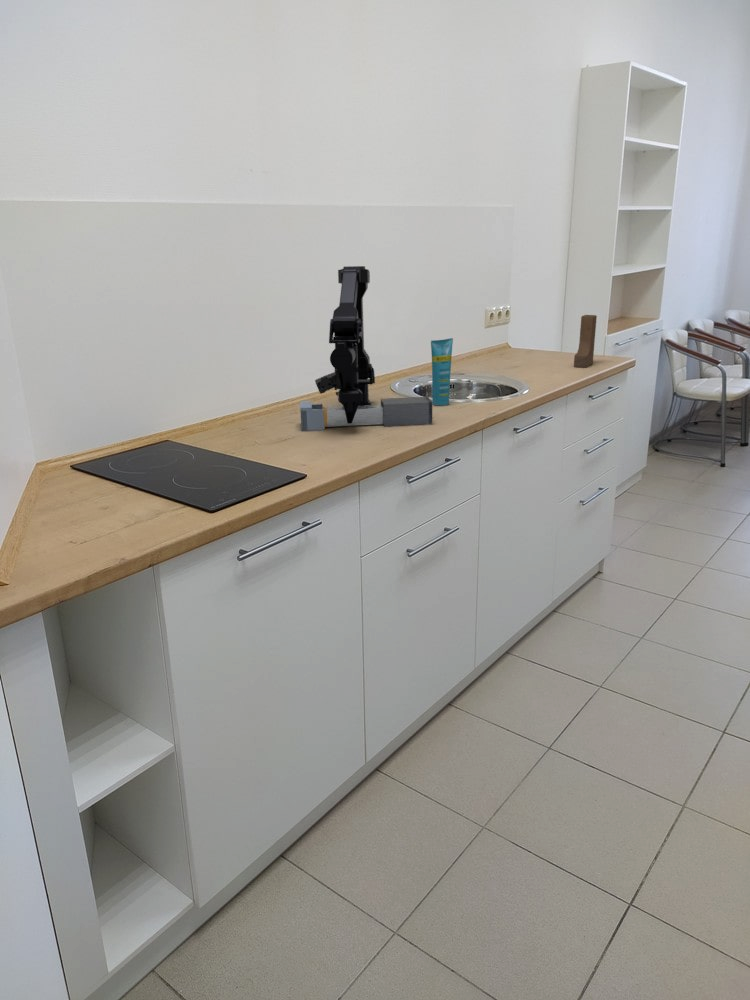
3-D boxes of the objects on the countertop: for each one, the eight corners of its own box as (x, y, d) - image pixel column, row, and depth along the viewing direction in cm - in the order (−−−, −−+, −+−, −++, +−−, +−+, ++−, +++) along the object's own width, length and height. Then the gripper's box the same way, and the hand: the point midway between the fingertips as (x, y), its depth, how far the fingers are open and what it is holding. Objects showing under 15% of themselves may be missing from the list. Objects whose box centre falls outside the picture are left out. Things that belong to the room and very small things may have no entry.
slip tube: (322, 423, 200) (321, 407, 198) (402, 419, 202) (402, 403, 200) (323, 427, 196) (322, 410, 194) (405, 423, 198) (405, 406, 196)
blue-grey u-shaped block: (301, 423, 201) (299, 401, 199) (323, 422, 201) (322, 400, 199) (301, 431, 193) (300, 407, 191) (324, 429, 194) (323, 406, 192)
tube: (436, 407, 215) (436, 341, 209) (426, 404, 219) (426, 339, 212) (455, 403, 219) (456, 338, 212) (445, 401, 223) (446, 336, 216)
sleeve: (381, 420, 203) (380, 398, 200) (427, 417, 204) (427, 396, 202) (384, 426, 196) (383, 404, 194) (432, 424, 197) (432, 402, 195)
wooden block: (585, 368, 268) (589, 317, 262) (573, 367, 271) (576, 317, 264) (593, 364, 275) (597, 315, 269) (581, 363, 278) (585, 314, 271)
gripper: (314, 358, 200) (317, 414, 206) (317, 371, 183) (320, 431, 189) (355, 357, 202) (356, 412, 207) (362, 369, 184) (364, 429, 190)
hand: (348, 421), depth 198 cm, fingers closed on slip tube, 4 cm apart
